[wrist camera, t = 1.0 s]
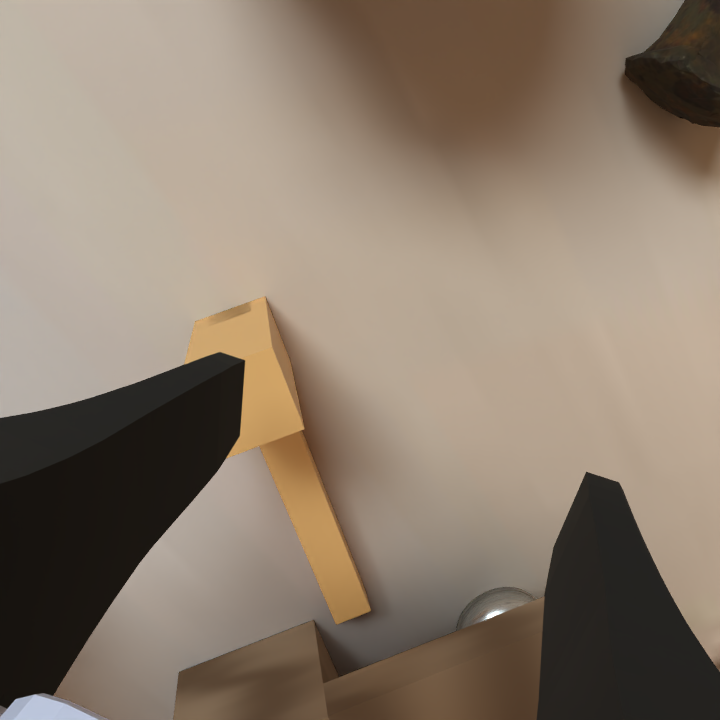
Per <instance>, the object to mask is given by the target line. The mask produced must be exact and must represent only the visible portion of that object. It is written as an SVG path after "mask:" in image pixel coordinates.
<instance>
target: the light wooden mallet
mask: <svg viewBox="0 0 720 720" xmlns="http://www.w3.org/2000/svg"><path fill="white" fill-rule="evenodd" d="M218 352H222V353H225V354H228V355H231V356H234V357H237V358H240V359H243V360H245V372H244V386H243V400H242V415H241V429H240V437H239V438H238V440H237V442H236V443H235V445H234V446H233V448H232V450H231V451H230V453H229V454H228V456H227V457H226V458H228V457H231V456H234V455H236V454H239V453H242V452H244V451H247V450H250V449H253V448H255V447H258V446H259V447H260V449H261V451H262V453H263V456H264V458H265V460H266V463H267V465H268V467H269V470H270V472H271V474H272V477H273V479H274V481H275V484H276V486H277V488H278V491H279V493H280V495H281V498H282V500H283V502H284V505H285V507H286V509H287V512H288V514H289V516H290V519H291V521H292V523H293V526H294V528H295V530H296V533H297V535H298V537H299V539H300V542H301V544H302V546H303V549H304V551H305V553H306V556H307V558H308V560H309V563H310V565H311V567H312V570H313V572H314V574H315V577H316V579H317V581H318V584H319V586H320V588H321V591H322V593H323V595H324V598H325V600H326V602H327V605H328V607H329V609H330V612H331V614H332V616H333V619H334V621H335V623H336V625H337V624H339V623H342V622H344V621H347V620H350V619H352V618H355V617H357V616H360V615H362V614H365V613H368V612H370V611H371V609H370V605H369V602H368V598H367V594H366V591H365V588H364V585H363V583H362V580H361V578H360V575H359V572H358V570H357V567H356V565H355V562H354V560H353V557H352V555H351V552H350V550H349V547H348V545H347V542H346V540H345V537H344V535H343V532H342V530H341V527H340V525H339V522H338V520H337V517H336V515H335V512H334V510H333V507H332V505H331V502H330V500H329V497H328V495H327V492H326V490H325V487H324V485H323V482H322V480H321V477H320V475H319V472H318V470H317V467H316V465H315V462H314V460H313V457H312V455H311V452H310V450H309V447H308V445H307V442H306V440H305V437H304V435H303V432H302V430H304V429H305V428H304V424H303V419H302V414H301V409H300V405H299V400H298V395H297V390H296V385H295V381H294V376H293V371H292V366H291V362H290V359H289V356H288V354H287V351H286V349H285V346H284V344H283V341H282V338H281V336H280V333H279V331H278V328H277V326H276V323H275V320H274V318H273V315H272V313H271V310H270V308H269V305H268V302H267V300H266V297H262V298H259V299H256V300H254V301H251V302H248V303H245V304H242V305H240V306H237V307H234V308H231V309H229V310H226V311H223V312H220V313H218V314H215V315H212V316H209V317H206V318H204V319H201V320H198V321H195V324H194V328H193V332H192V336H191V340H190V344H189V348H188V352H187V355H186V359H185V363H184V365H185V364H187V363H190V362H192V361H195V360H198V359H200V358H203V357H206V356H209V355H212V354H215V353H218Z"/></svg>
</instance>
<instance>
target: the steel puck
mask: <svg viewBox="0 0 720 720" xmlns="http://www.w3.org/2000/svg"><path fill="white" fill-rule="evenodd" d="M534 600H536V599H535V598H534V597H533V596H532V595H531V594H529V593H528V592H526V591H524V590H522V589H518V588H513V587H503V588H497V589H493V590H490V591H487V592H485V593H483V594H481V595H479V596H478V597H476V598H475V599H474V600H473V601H471V602H470V603H469V604H468V605H467V607H466V608H465V609H464V611H463V612H462V614H461V616H460V618H459V620H458V624H457V630H456V631H458V630H461V629H463V628H466V627H468V626H471V625H473V624H476V623H478V622H481V621H484V620H486V619H489V618H491V617H494V616H496V615H499V614H501V613H504V612H506V611H509V610H511V609H514V608H517V607H519V606H522V605H524V604H527V603H529V602H532V601H534Z"/></svg>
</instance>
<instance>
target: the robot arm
mask: <svg viewBox="0 0 720 720" xmlns="http://www.w3.org/2000/svg"><path fill="white" fill-rule="evenodd" d="M244 372H245V360H243V359H240V358H237V357H234V356H231V355H228V354H225V353H222V352H218V353H215V354H212V355H209V356H206V357H203V358H200V359H198V360H195V361H192V362H190V363H187V364H185V365H182V366H180V367H177V368H174V369H172V370H169V371H167V372H164V373H161V374H159V375H156V376H153V377H151V378H148V379H145V380H143V381H140V382H137V383H135V384H132V385H129V386H126V387H122V388H119V389H116V390H113V391H110V392H107V393H104V394H101V395H98V396H95V397H92V398H89V399H85V400H82V401H78V402H75V403H71V404H67V405H63V406H59V407H55V408H50V409H46V410H42V411H37V412H33V413H27V414H21V415H16V416H10V417H4V418H0V720H109V719H107V718H105V717H103V716H101V715H99V714H97V713H94V712H92V711H90V710H88V709H86V708H84V707H82V706H80V705H78V704H75V703H73V702H71V701H68V700H65V699H61V698H58V697H55V696H53V695H54V693H55V692H56V690H57V688H58V687H59V685H60V683H61V682H62V680H63V678H64V677H65V675H66V674H67V672H68V670H69V669H70V667H71V666H72V664H73V662H74V661H75V659H76V658H77V656H78V654H79V653H80V651H81V649H82V648H83V646H84V645H85V643H86V641H87V640H88V638H89V637H90V635H91V634H92V632H93V631H94V629H95V628H96V626H97V625H98V623H99V622H100V620H101V619H102V617H103V616H104V614H105V612H106V611H107V609H108V608H109V606H110V605H111V603H112V602H113V600H114V599H115V597H116V596H117V595H118V593H119V592H120V590H121V589H122V587H123V586H124V585H125V583H126V582H127V580H128V579H129V577H130V576H131V574H132V573H133V572H134V570H135V569H136V567H137V566H138V564H139V563H140V562H141V560H142V559H143V558H144V557H145V555H146V554H147V553H148V552H149V550H150V549H151V548H152V547H153V545H154V544H155V543H156V542H157V541H158V540H159V538H160V537H161V536H162V535H163V534H164V533H165V532H166V530H167V529H168V528H169V527H170V526H171V525H172V524H173V522H174V521H175V520H176V519H177V518H178V517H179V516H180V514H181V513H182V512H183V511H184V510H185V509H186V508H187V506H188V505H189V504H190V503H191V502H192V501H193V499H194V498H195V497H196V496H197V495H198V494H199V492H200V491H201V490H202V489H203V488H204V487H205V485H206V484H207V483H208V482H209V481H210V480H211V478H212V477H213V476H214V475H215V474H216V472H217V471H218V469H219V468H220V466H221V465H222V463H223V462H224V460H225V459H226V457H227V456H228V454H229V453H230V451H231V450H232V448H233V446H234V445H235V443H236V442H237V440H238V438H239V437H240V429H241V415H242V400H243V386H244ZM537 720H720V672H719V670H718V669H717V668H716V666H715V665H714V663H713V662H712V661H711V659H710V658H709V656H708V655H707V653H706V652H705V650H704V649H703V647H702V646H701V644H700V643H699V641H698V640H697V638H696V637H695V635H694V634H693V632H692V631H691V629H690V627H689V626H688V624H687V623H686V621H685V619H684V618H683V616H682V614H681V612H680V611H679V609H678V607H677V605H676V603H675V602H674V600H673V598H672V596H671V594H670V593H669V591H668V589H667V587H666V585H665V583H664V581H663V579H662V577H661V575H660V573H659V571H658V569H657V567H656V565H655V563H654V561H653V559H652V557H651V555H650V553H649V551H648V548H647V546H646V544H645V542H644V540H643V537H642V535H641V533H640V530H639V528H638V526H637V523H636V521H635V519H634V516H633V514H632V511H631V509H630V507H629V504H628V502H627V499H626V497H625V494H624V491H623V489H622V487H621V485H620V483H619V482H616V481H613V480H610V479H607V478H604V477H601V476H597V475H594V474H591V473H588V472H586V474H585V476H584V479H583V481H582V483H581V485H580V488H579V490H578V492H577V495H576V497H575V499H574V501H573V504H572V506H571V508H570V511H569V513H568V515H567V518H566V520H565V522H564V524H563V527H562V529H561V531H560V534H559V536H558V538H557V540H556V543H555V545H554V548H553V553H552V558H551V563H550V568H549V573H548V579H547V584H546V590H545V599H544V614H543V630H542V647H541V665H540V682H539V700H538V710H537Z"/></svg>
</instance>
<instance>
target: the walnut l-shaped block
mask: <svg viewBox="0 0 720 720" xmlns="http://www.w3.org/2000/svg"><path fill="white" fill-rule="evenodd" d="M544 599H545V596H544V597H542V598H539V599H537V600H534V601H532V602H529V603H527V604H524V605H522V606H519V607H517V608H514V609H511V610H509V611H506V612H504V613H501V614H499V615H496V616H494V617H491V618H489V619H486V620H484V621H481V622H478V623H476V624H473V625H471V626H468V627H466V628H463V629H461V630H458V631H456V632H453V633H450V634H448V635H445V636H443V637H440V638H438V639H435V640H433V641H430V642H428V643H425V644H423V645H420V646H417V647H415V648H412V649H410V650H407V651H405V652H402V653H400V654H397V655H395V656H392V657H389V658H387V659H384V660H382V661H379V662H377V663H374V664H372V665H369V666H367V667H364V668H362V669H359V670H356V671H354V672H351V673H349V674H346V675H344V676H341V677H339V676H338V674H337V672H336V669H335V667H334V665H333V663H332V660H331V658H330V656H329V654H328V651H327V649H326V647H325V645H324V642H323V640H322V638H321V636H320V633H319V631H318V629H317V627H316V624H315V622H314V620H312V621H310V622H307V623H304V624H302V625H299V626H297V627H294V628H292V629H289V630H286V631H284V632H281V633H279V634H276V635H273V636H271V637H268V638H266V639H263V640H261V641H258V642H255V643H253V644H250V645H248V646H245V647H243V648H240V649H237V650H235V651H232V652H230V653H227V654H225V655H222V656H219V657H217V658H214V659H212V660H209V661H206V662H204V663H201V664H199V665H196V666H194V667H191V668H188V669H186V670H183V671H181V672H179V676H178V684H177V693H176V701H175V710H174V718H173V720H537V710H538V700H539V682H540V665H541V647H542V630H543V614H544Z"/></svg>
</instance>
